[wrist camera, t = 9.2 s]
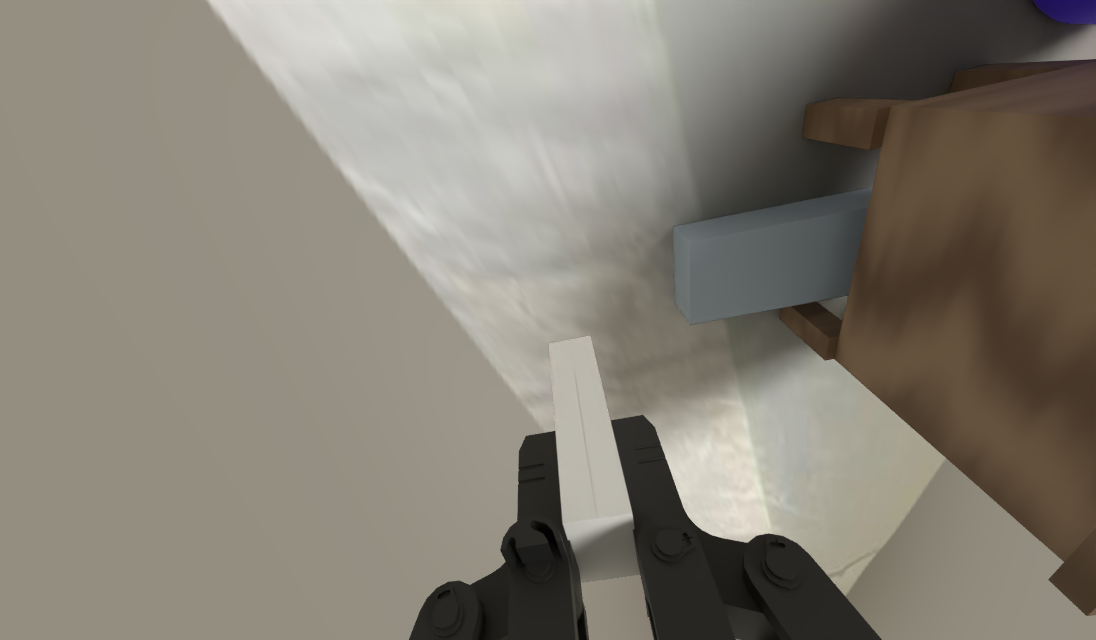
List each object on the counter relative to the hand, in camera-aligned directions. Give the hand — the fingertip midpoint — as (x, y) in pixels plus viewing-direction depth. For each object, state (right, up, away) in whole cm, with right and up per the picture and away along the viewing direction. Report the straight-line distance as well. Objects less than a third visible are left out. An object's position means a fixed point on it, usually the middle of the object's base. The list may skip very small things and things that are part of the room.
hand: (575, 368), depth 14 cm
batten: (+14, +7, +9) cm, 18 cm away
